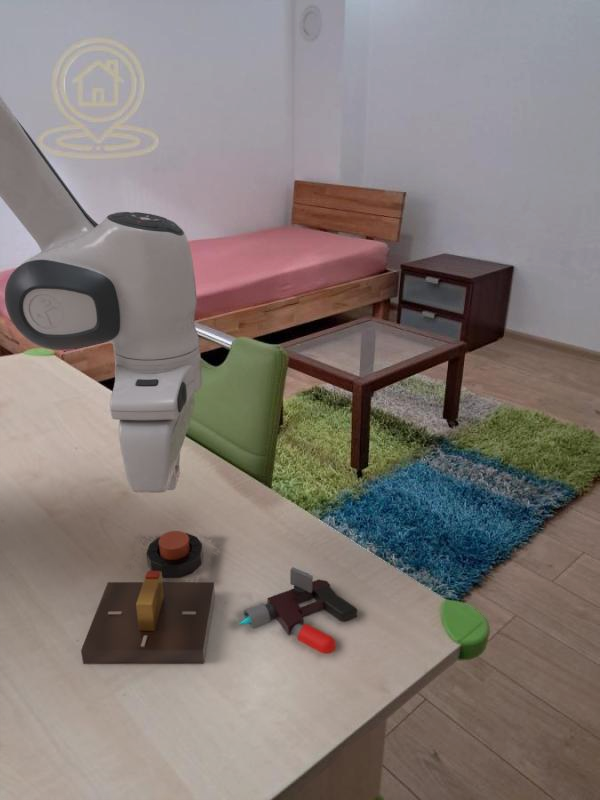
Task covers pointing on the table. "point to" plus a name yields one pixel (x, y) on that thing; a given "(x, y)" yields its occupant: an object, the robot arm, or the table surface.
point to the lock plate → (174, 634)
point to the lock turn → (150, 601)
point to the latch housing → (175, 566)
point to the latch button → (174, 545)
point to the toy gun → (302, 610)
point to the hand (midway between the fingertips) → (170, 483)
